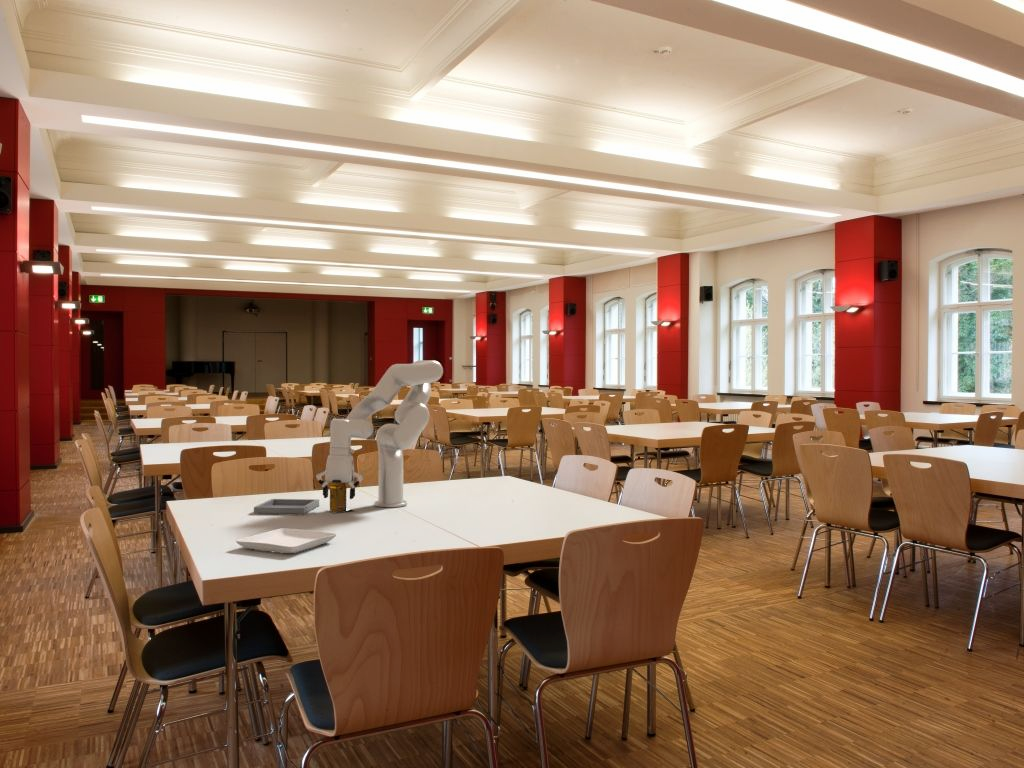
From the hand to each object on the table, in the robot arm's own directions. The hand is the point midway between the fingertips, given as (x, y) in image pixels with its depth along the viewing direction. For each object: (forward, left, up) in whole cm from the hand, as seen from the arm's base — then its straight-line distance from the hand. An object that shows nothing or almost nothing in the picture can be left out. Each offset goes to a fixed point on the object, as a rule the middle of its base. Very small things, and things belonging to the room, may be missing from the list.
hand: (338, 498), depth 285 cm
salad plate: (+58, +1, -5) cm, 58 cm away
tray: (0, -19, -5) cm, 20 cm away
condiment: (0, +1, -5) cm, 5 cm away
